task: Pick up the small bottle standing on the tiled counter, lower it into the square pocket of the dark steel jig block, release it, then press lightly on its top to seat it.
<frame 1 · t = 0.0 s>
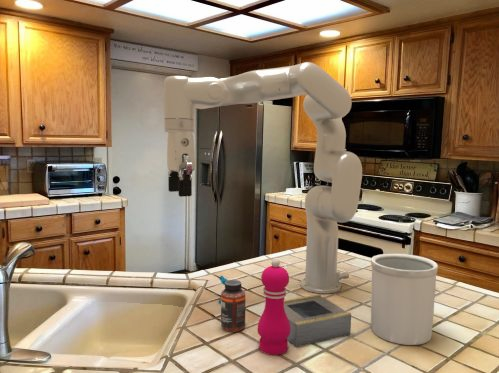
hand: (179, 193, 107), 31 cm above the countertop, tool pointing down, fingers open, 9 cm apart
supplement bottle: (232, 328, 101), on the countertop
cyan jagged piece: (231, 302, 117), on the countertop
jig: (308, 328, 101), on the countertop
utensil holder: (399, 332, 100), on the countertop
pepper mill: (273, 348, 92), on the countertop
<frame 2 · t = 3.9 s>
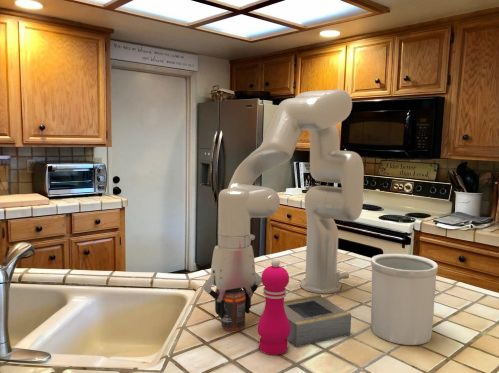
hand: (233, 312, 101), 4 cm above the countertop, tool pointing down, fingers closed on supplement bottle, 6 cm apart
supplement bottle: (232, 327, 101), on the countertop, touching gripper
everything else where it was.
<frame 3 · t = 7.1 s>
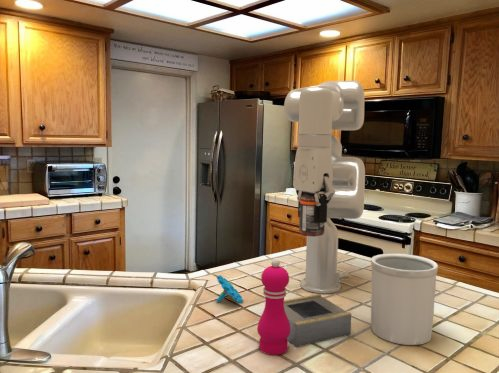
hand: (311, 219, 98), 27 cm above the countertop, tool pointing down, fingers closed on supplement bottle, 6 cm apart
supplement bottle: (311, 234, 98), point 23 cm above the countertop, touching gripper
everything else where it was.
when the fingers open (6 cm above the countertop, at t = 10.2 s): supplement bottle drops 3 cm, resting in jig.
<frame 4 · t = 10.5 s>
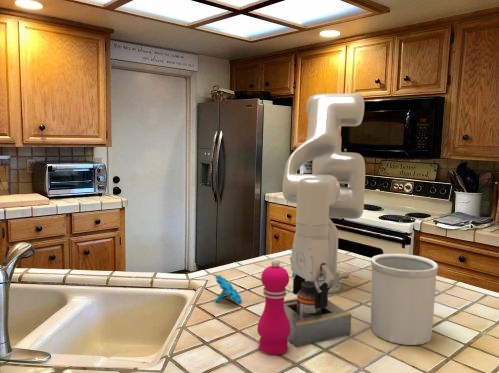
hand: (309, 300, 100), 7 cm above the countertop, tool pointing down, fingers open, 9 cm apart
supplement bottle: (308, 329, 101), resting in jig
everything else where it was.
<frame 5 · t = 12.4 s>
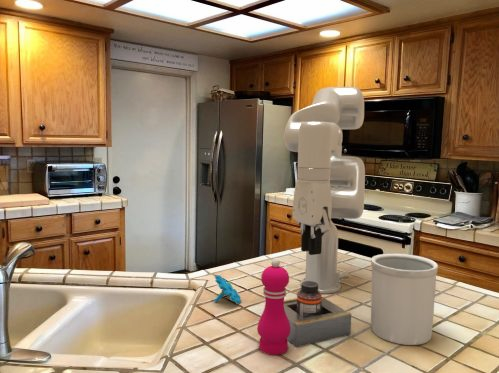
hand: (311, 251, 99), 19 cm above the countertop, tool pointing down, fingers closed
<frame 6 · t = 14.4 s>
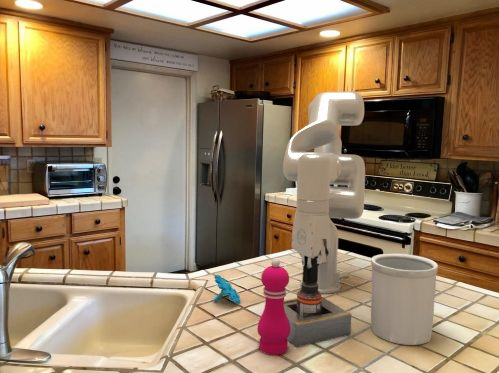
hand: (310, 282, 100), 12 cm above the countertop, tool pointing down, fingers closed
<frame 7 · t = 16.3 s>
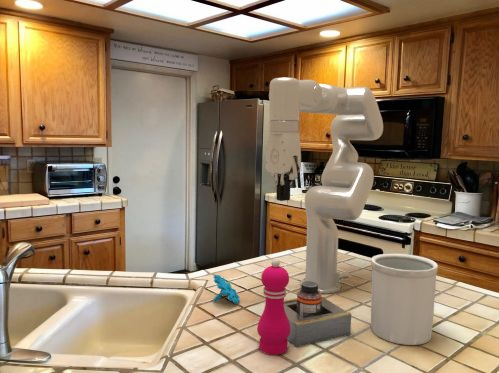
hand: (283, 199, 108), 30 cm above the countertop, tool pointing down, fingers closed
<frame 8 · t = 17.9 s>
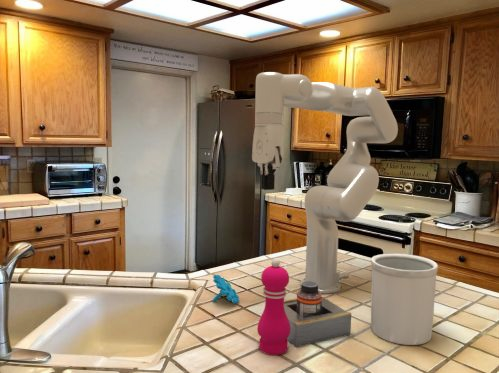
hand: (267, 189, 112), 32 cm above the countertop, tool pointing down, fingers closed
at the end: supplement bottle 0.3 cm off-centre on the jig, point 0.0 cm above the jig's base; supplement bottle tilted 0°; the gripper is holding nothing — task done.
